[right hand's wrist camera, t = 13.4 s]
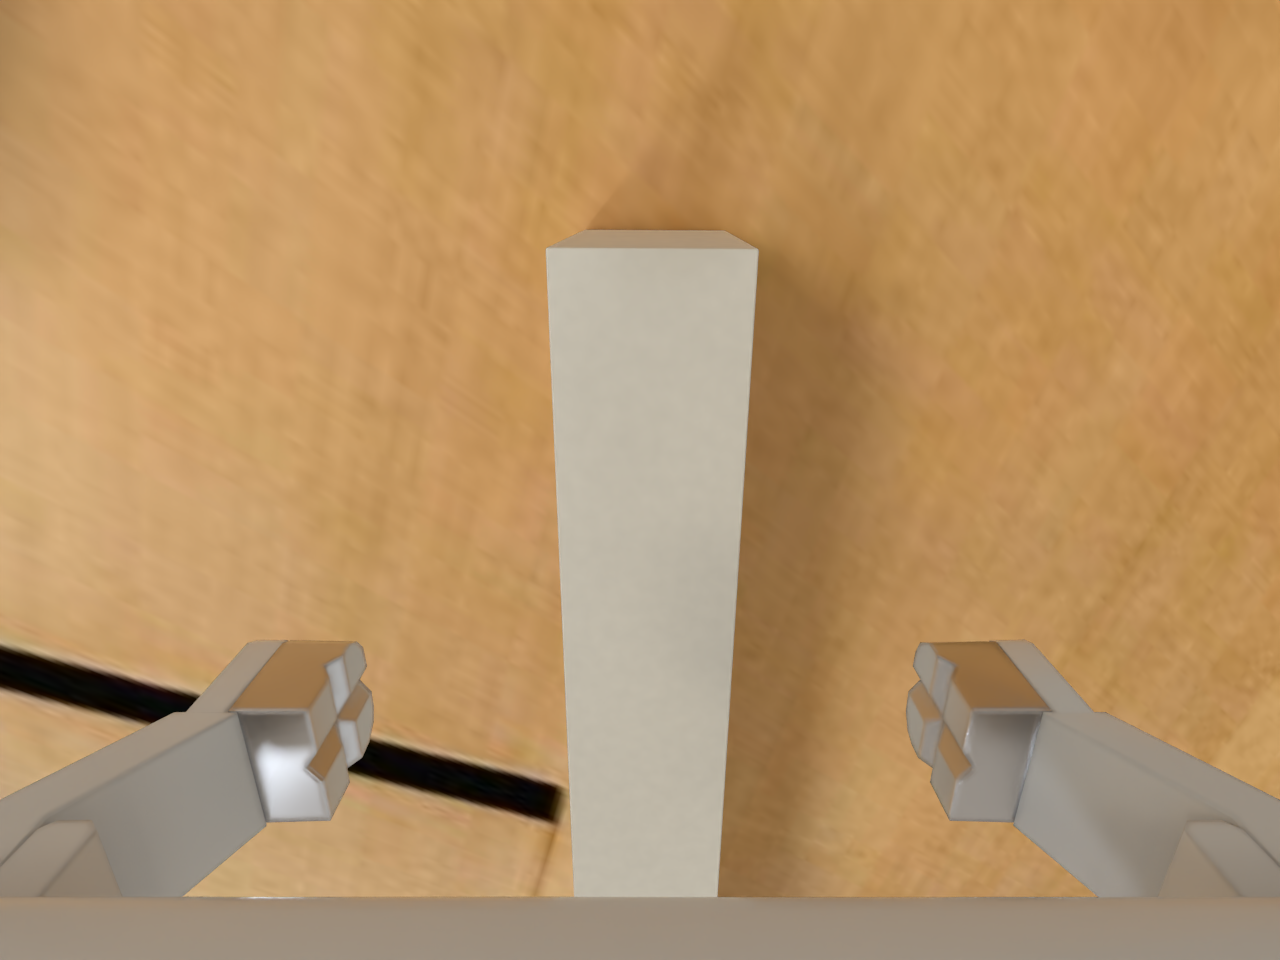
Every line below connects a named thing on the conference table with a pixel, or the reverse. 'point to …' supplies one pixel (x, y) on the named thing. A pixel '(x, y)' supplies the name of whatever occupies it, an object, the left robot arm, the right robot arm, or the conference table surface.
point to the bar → (649, 543)
